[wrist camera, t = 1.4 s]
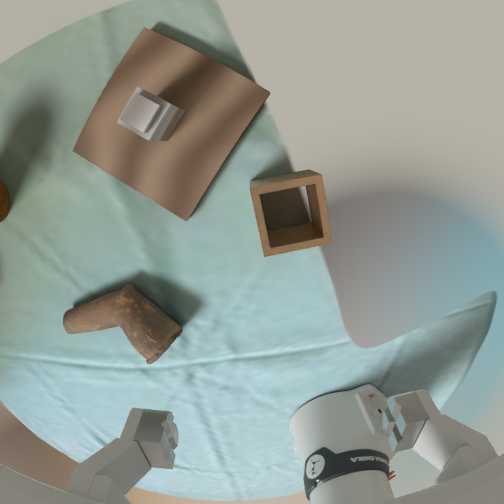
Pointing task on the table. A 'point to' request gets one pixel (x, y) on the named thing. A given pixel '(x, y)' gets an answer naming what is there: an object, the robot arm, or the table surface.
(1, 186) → the disposable coffee cup
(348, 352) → the table surface
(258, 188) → the tan hollow cube
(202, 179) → the wavy brown square sheet
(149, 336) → the pipe
